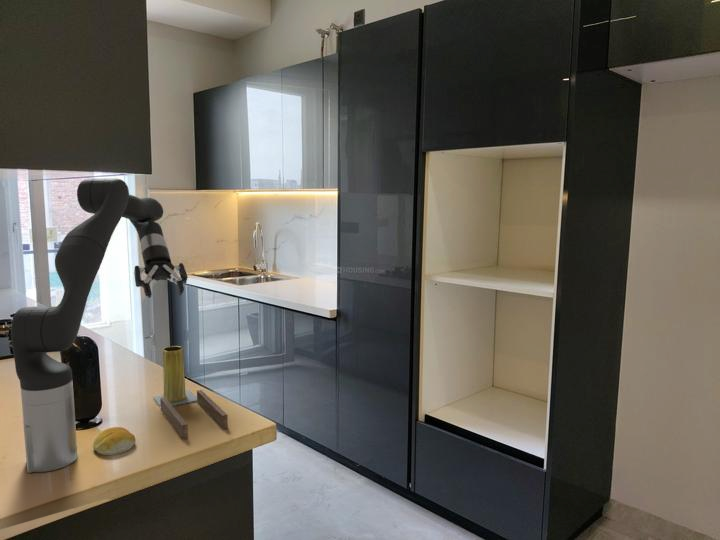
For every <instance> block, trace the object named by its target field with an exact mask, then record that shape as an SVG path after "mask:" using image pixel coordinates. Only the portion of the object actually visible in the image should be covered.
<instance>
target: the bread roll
mask: <svg viewBox="0 0 720 540" xmlns="http://www.w3.org/2000/svg"><path fill="white" fill-rule="evenodd" d="M136 440H137V438H136V436H135V435H134V434H133V433H132V432H130V431H129V430H128V429H126V428H125V427H121V426H114V427H113V426H112V427H109V428H106V429H104V430H102V431H101V432H100V433H98V435H96V436H95V439H94V440H93V444H92V446H93V447H92V448H93V450H94V451H95V452H97V453H98V454H99V455H103V456H113V455H118V454H122V453H125V452H127V450H128V451H129V450H131V449H132V448H133V446H134V445H135V443H136Z"/></svg>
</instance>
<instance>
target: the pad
mask: <svg viewBox="0 0 720 540" xmlns="http://www.w3.org/2000/svg"><path fill="white" fill-rule="evenodd" d="M185 392H186V398H185V399H184V400H182V401H178V402H170V404H171V405H172V406H174V407H176V406H175V405H179V406H181V405H180V404H183V405H187V404H186V403H188V404H192V403H191V402H193V403H195V402H196V403H197V395H195V394H194V393H193V392H192V390H190V389H185ZM163 396H164V394H162V395H161V394H160V395H156V396H153V397H152V398H154V399H153V400H154V402H155V403H156V402H157V403H156V404H157V405H158V407H159V406H160V407H161V403H160V398H163ZM160 407H159V408H160Z"/></svg>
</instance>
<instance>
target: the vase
mask: <svg viewBox="0 0 720 540" xmlns="http://www.w3.org/2000/svg"><path fill="white" fill-rule="evenodd" d="M184 363H185V361H184V348H183V346H180V345H171V346H166V347H164V348H162V364H163V366H162V367H163V377H162V378H163V395H164V396H163V397H165V398H166V399H167V400H168V401H169V402H178V401H182V400H184V399H185V398H186V392H185V391H186V381H185V380H186V377H185V364H184Z"/></svg>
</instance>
